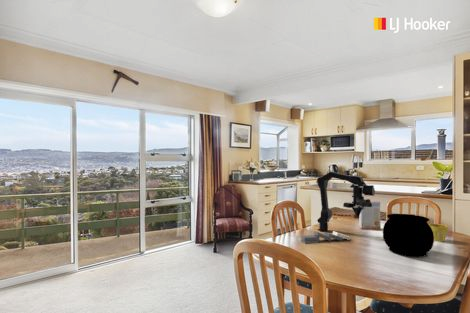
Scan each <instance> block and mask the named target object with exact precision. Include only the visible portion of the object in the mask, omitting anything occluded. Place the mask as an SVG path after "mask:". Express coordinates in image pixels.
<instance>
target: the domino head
mask: <svg viewBox="0 0 470 313" xmlns="http://www.w3.org/2000/svg"><path fill="white" fill-rule="evenodd" d="M332 234H334V235H336V236H339V237H342V239H345V240H347V241H350V240H351V236H349V235H347V234H343V233H340V232H337V231H335V230H333V231H332Z"/></svg>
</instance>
